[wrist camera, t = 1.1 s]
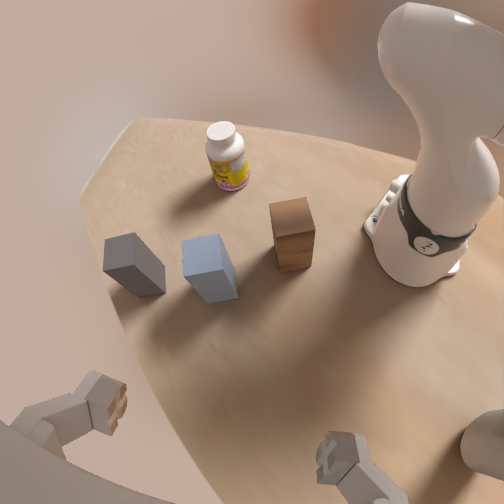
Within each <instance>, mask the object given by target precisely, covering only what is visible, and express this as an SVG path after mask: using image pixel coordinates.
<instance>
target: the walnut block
mask: <svg viewBox="0 0 504 504" xmlns="http://www.w3.org/2000/svg"><path fill="white" fill-rule="evenodd" d="M269 208H270V215H271V223H272V230H273V238H274V245H275V250H276V255H277V260H278V265H279V270H280V273H281V272H286V271H291V270H296V269H301V268H306V267H311V262H312V255H313V246H314V238H315V226H314V222H313V219H312V216H311V212H310V209H309V205H308V202H307V199H306V197H304V198H299V199H293V200H288V201H282V202H277V203H272V204H269Z"/></svg>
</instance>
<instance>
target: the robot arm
mask: <svg viewBox="0 0 504 504" xmlns="http://www.w3.org/2000/svg"><path fill="white" fill-rule="evenodd" d="M378 56H379V61H380V65H381V68H382V71H383V73H384V75H385V77H386V79H387V81H388V82H389V84H390V85H391V86H392V88H393V89H394V90H395V91H396V92H397V93H398V94H399V95H400V96H401V97H402V99H403V100H404V101H405V103H406V104H407V105H408V107H409V109H410V110H411V112H412V114H413V116H414V118H415V120H416V123H417V126H418V129H419V133H420V140H421V145H420V151H419V155H418V159H417V162H416V165H415V168H414V170H413V171H412V172H411V173H410V174H409V175H400V176H399V177H398V178H397V180H395V179H394V181H393V182H392V184H391V186H390V188H389V191H388V192H387V193H386V195H385V196H384V198H383V199H382V200H381V202H380V203H379V204H378V206H377V207H376V208H375V210H374V211H373V212H372V213H371V215H370V216H369V217H368V219H367V220H366V222H365V223H364V229H365V231H366V233H367V234H368V236H369V237H370V239H371V240H372V243H373V246H374V251H375V255H376V257H377V260H378V262H379V263H380V265H381V267H382V268H383V269H384V271H385V272H386V273H387V274H388V275H389V276H391V277H392V278H393V279H394V280H396V281H398V282H400V283H402V284H404V285H407V286H411V287H424V286H428V285H431V284H433V283H434V282H436V281H437V280H439V279H440V278H442V277H444V276H451V275H454V274H456V272H457V271H458V270H459V261H460V258H461V257H462V256H463V254H464V253H465V252H466V250H467V248H468V245H467V240H468V239H469V238H470V236H471V235H472V233H473V231H474V230H475V228H476V225H477V222H478V221H479V220H480V219H481V218H482V216H483V215H484V214H485V213H486V212H487V210H488V209H489V208H490V207H491V205H492V204H493V203H494V201H495V200H496V198H497V195H498V191H499V186H500V179H499V172H498V169H497V166H496V163H495V161H494V158H493V157H492V155H491V153H490V152H489V150H488V148H487V147H486V146H485V144H484V143H483V142H482V140H481V139H480V138H479V137H485V138H487V139H491V140H492V141H494V142H496V143H498V144H499V145H501V146H503V147H504V34H503V33H501V32H499V31H497V30H495V29H493V28H491V27H489V26H487V25H485V24H483V23H481V22H479V21H477V20H475V19H472V18H470V17H468V16H466V15H464V14H461V13H459V12H457V11H454V10H450V9H445V8H441V7H436V6H431V5H425V4H418V3H410V2H408V3H405V4H403V5H401V6H400V7H398V8H396V9H395V10H394V11H393V12H392V13H391V14H390V15H389V16H388V17H387V19H386V20H385V22H384V24H383V25H382V28H381V30H380V34H379V38H378ZM373 220H375V221H376V222H373ZM126 390H127V388H126V384H125V383H122V382H120V381H117V380H115V379H112V378H110V377H108V376H105V375H103V374H100V373H98V372H96V371H91V372H89V373H88V375H87V376H86V377H85V379H84V380H83V381H82V383H81V384H80V385H79V386H78V388H77V389H76V390H75V392H74V393H73V394H71V393H68V394H66V395H62V396H60V397H57V398H54V399H51V400H48V401H45V402H42V403H38V404H35V405H32V406H29V407H26V408H24V409H23V410H22V412H21V413H20V414H19V415H18V417H17V418H16V419H15V420H14V421H13V423H12V424H11V425H10V426H8V425H6V424H5V423H3V422H2V421H1V420H0V504H174V503H171V502H167V501H164V500H160V499H157V498H154V497H151V496H148V495H145V494H142V493H139V492H137V491H134V490H131V489H128V488H125V487H123V486H121V485H118V484H115V483H113V482H111V481H108V480H106V479H104V478H101V477H99V476H97V475H94V474H92V473H90V472H88V471H86V470H84V469H82V468H79V467H78V466H75V465H73V464H72V463H69V462H67V461H66V457H65V455H64V453H63V450H62V448H61V447H62V446H64V445H66V444H68V443H69V442H71V441H73V440H75V439H77V438H79V437H81V436H83V435H85V434H86V433H88V432H90V431H92V430H93V429H94V430H97V431H99V432H102V433H104V434H107V435H110V436H112V435H113V433H114V431H115V429H116V427H117V426H118V422H117V419H120V418H122V416H123V415H124V412H125V410H126V406H127V397H126V395H125V392H126ZM316 463H317V464H318V465H319V466H320V467H319V469H318V470H317V484H329V485H337V488H338V489H339V490H340V492H341V493H342V495H343V496H344V498H345V499H346V500H347V502H348V503H349V504H409V502H408V498H407V495H406V494H405V493H404V492H403V491H402V490H401V489H400V488H399V487H398V486H397V485H396V484H395V483H394V482H393V481H391V480H390V479H389V478H388V477H387V476H386V475H385V474H384V473H383V472H382V471H381V470H380V469H379V467H378V466H377V465H376V464H375V463H371V459H370V454H369V450H368V445H367V441H366V436H365V435H364V434H362V433H350V432H336V431H329V432H328V433H327V434H326V436H325V441H323V442H321V443H320V445H319V447H318V450H317V453H316Z"/></svg>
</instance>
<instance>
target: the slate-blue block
mask: <svg viewBox="0 0 504 504" xmlns="http://www.w3.org/2000/svg"><path fill="white" fill-rule="evenodd" d="M182 256H183V272H184V277H185V279H186V280H187V281H188V282H189V283H190V284H191V285H192V287H193V288H194V289H195V290H196V291H197V292H198V293H199V294H200V296H201V297H202V298H203V299H204V300H205V301H206V302H207V303H208V304H210V303H216V302H222V301H228V300H233V299H239V295H238V288H237V281H236V274H235V269H234V266H233V264H232V262H231V260H230V257H229V255H228V253H227V251H226V248H225V246H224V244H223V242H222V239H221V237H220V235H219V234H214V235H209V236H204V237H199V238H195V239H190V240H185V241H182Z"/></svg>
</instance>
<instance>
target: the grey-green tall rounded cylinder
mask: <svg viewBox="0 0 504 504" xmlns="http://www.w3.org/2000/svg"><path fill="white" fill-rule="evenodd" d="M460 450H461V455H462V459H463V461H464V463H465V464H466V465H467V466H468V467H469V468H471V469H472V470H474V471H476V472H479V473H482V474H485V475H488V476H491V477H494V478H497V479H500V480H503V481H504V410H494V411H489V412H487V413H485V414H483V415H481V416H479V417H478V418H476V419H475V420H474V421H473V422H472V423H471V424H470V425H469V426H468V428H467V429H466V431H465V432H464V434H463V437H462V440H461V444H460Z"/></svg>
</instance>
